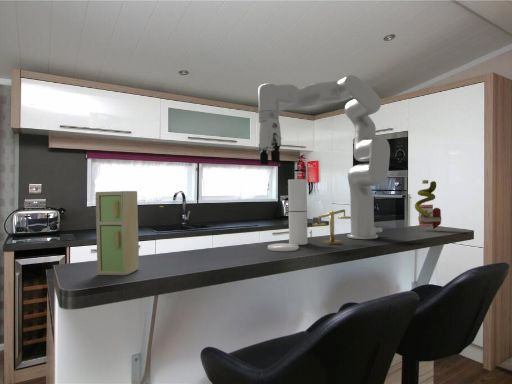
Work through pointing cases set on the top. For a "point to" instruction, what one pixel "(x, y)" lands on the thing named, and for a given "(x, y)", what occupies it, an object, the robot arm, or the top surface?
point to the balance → (318, 223)
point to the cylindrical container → (297, 211)
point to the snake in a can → (428, 207)
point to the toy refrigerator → (117, 232)
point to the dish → (283, 247)
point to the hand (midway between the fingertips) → (269, 163)
